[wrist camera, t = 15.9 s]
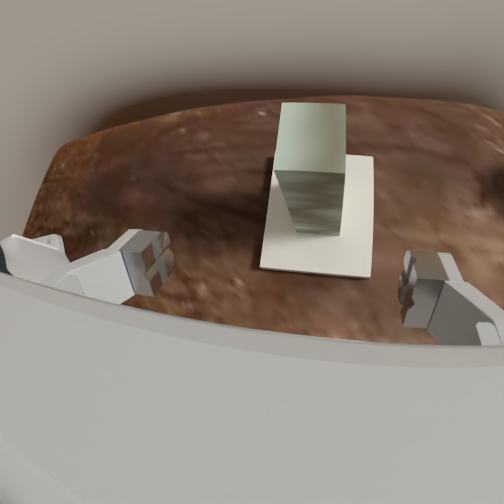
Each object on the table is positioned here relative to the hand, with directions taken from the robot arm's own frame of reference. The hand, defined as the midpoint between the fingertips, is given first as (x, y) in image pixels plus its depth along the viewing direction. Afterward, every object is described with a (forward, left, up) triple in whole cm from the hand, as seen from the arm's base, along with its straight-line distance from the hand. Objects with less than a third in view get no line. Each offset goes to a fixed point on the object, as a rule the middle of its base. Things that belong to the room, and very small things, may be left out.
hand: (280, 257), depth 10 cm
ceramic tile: (0, +8, -18) cm, 20 cm away
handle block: (0, +9, -17) cm, 19 cm away
